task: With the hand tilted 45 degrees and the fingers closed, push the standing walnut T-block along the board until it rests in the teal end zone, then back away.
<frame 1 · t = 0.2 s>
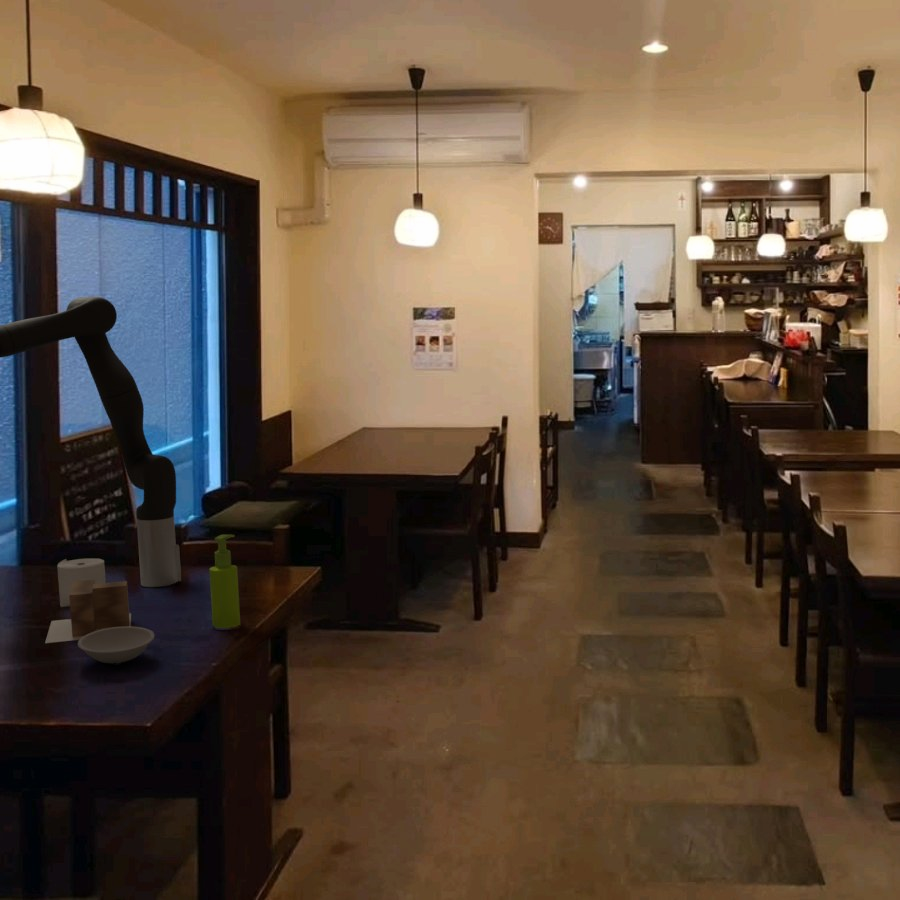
soap dispenser: (227, 626, 236), on the table
board: (121, 628, 236), on the table
toilet tissue: (81, 604, 259), on the table
dish: (118, 664, 212), on the table
t block: (85, 627, 234), point 1 cm above the table, touching board
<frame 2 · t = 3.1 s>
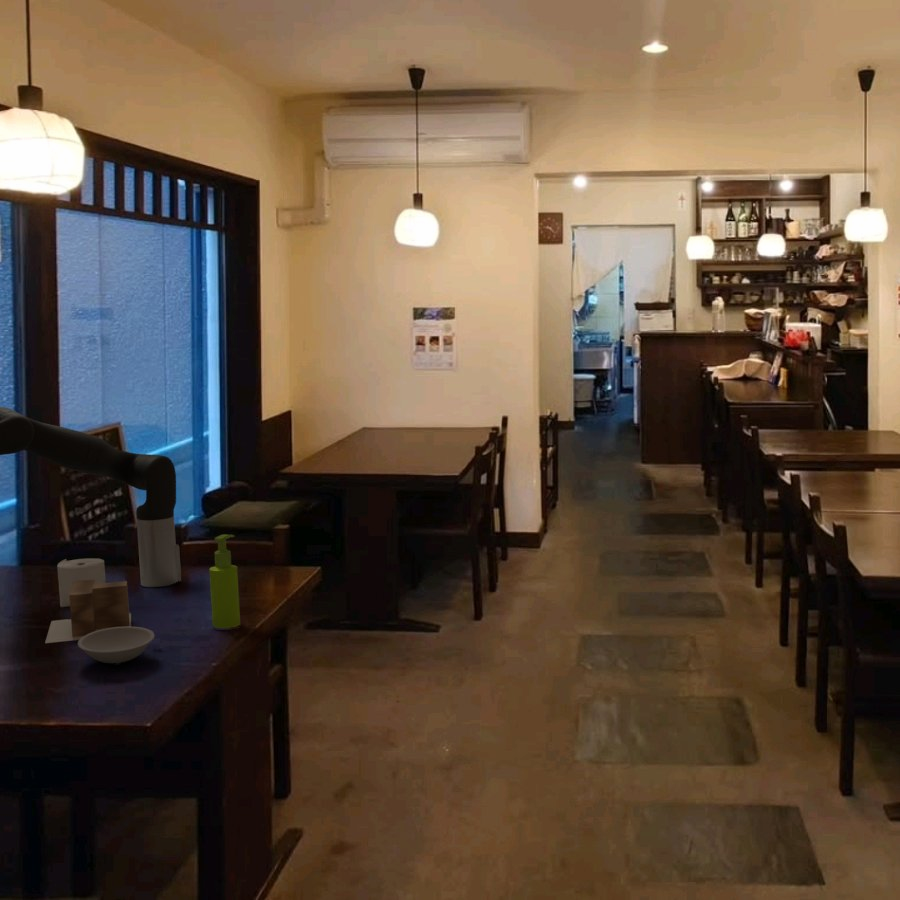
nothing on the table moved.
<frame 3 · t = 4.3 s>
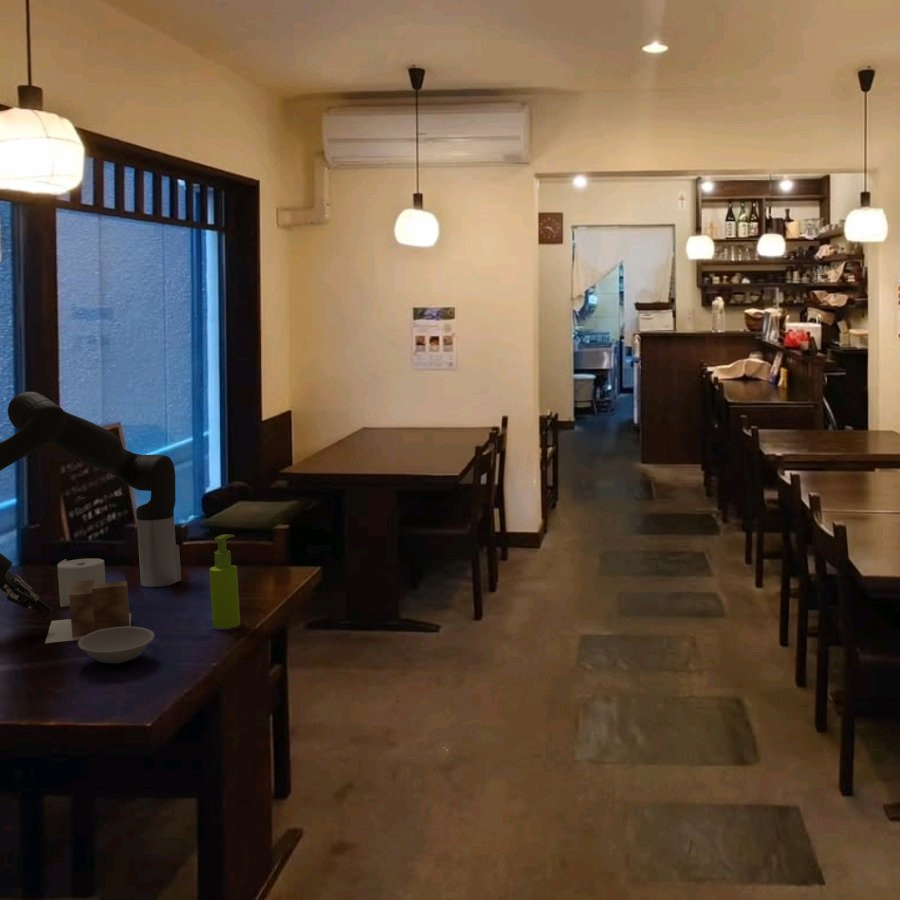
hand: (49, 613, 232), 5 cm above the table, tool tilted 45°, fingers closed
nothing on the table moved.
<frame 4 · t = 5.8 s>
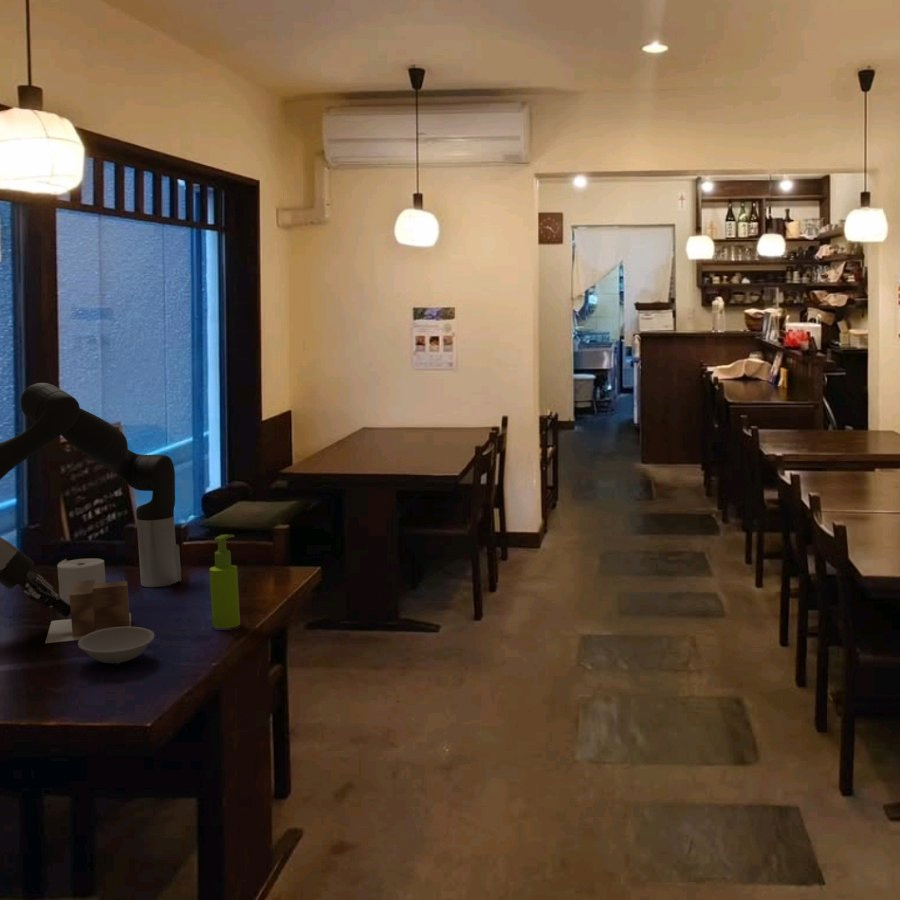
hand: (70, 613, 232), 5 cm above the table, tool tilted 45°, fingers closed
t block: (85, 627, 234), point 1 cm above the table, touching board, gripper
everything else where it was.
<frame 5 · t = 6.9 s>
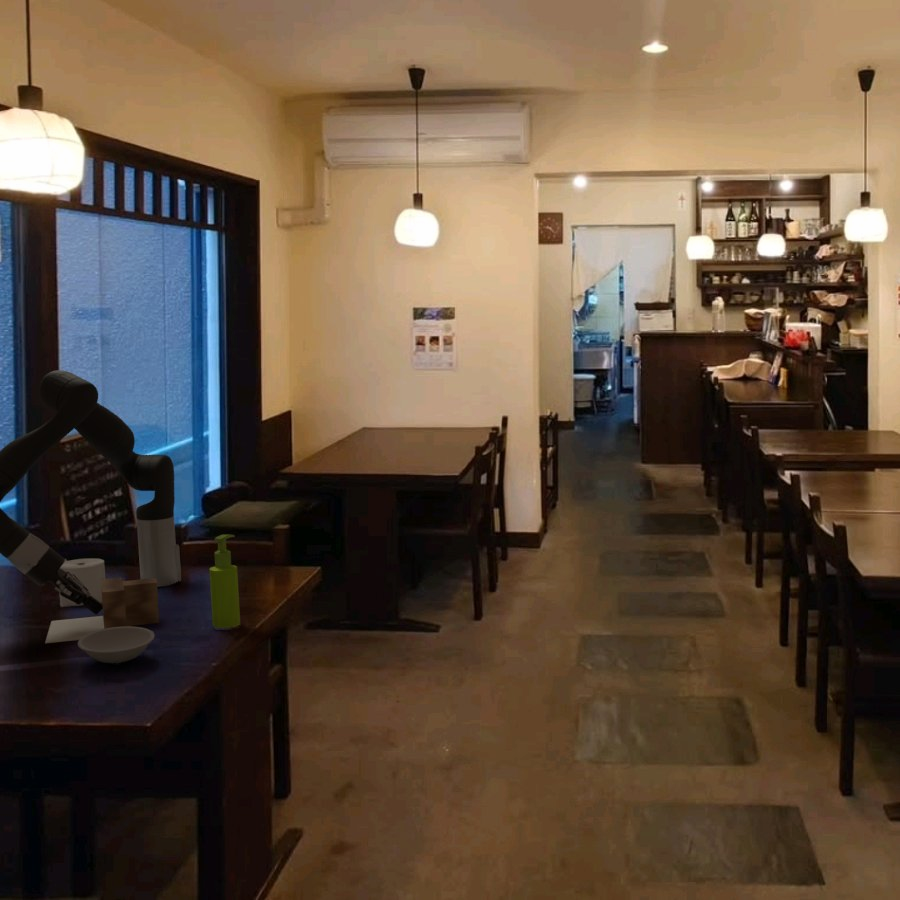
hand: (100, 610, 234), 5 cm above the table, tool tilted 45°, fingers closed
t block: (114, 624, 236), point 1 cm above the table, touching gripper
everything else where it was.
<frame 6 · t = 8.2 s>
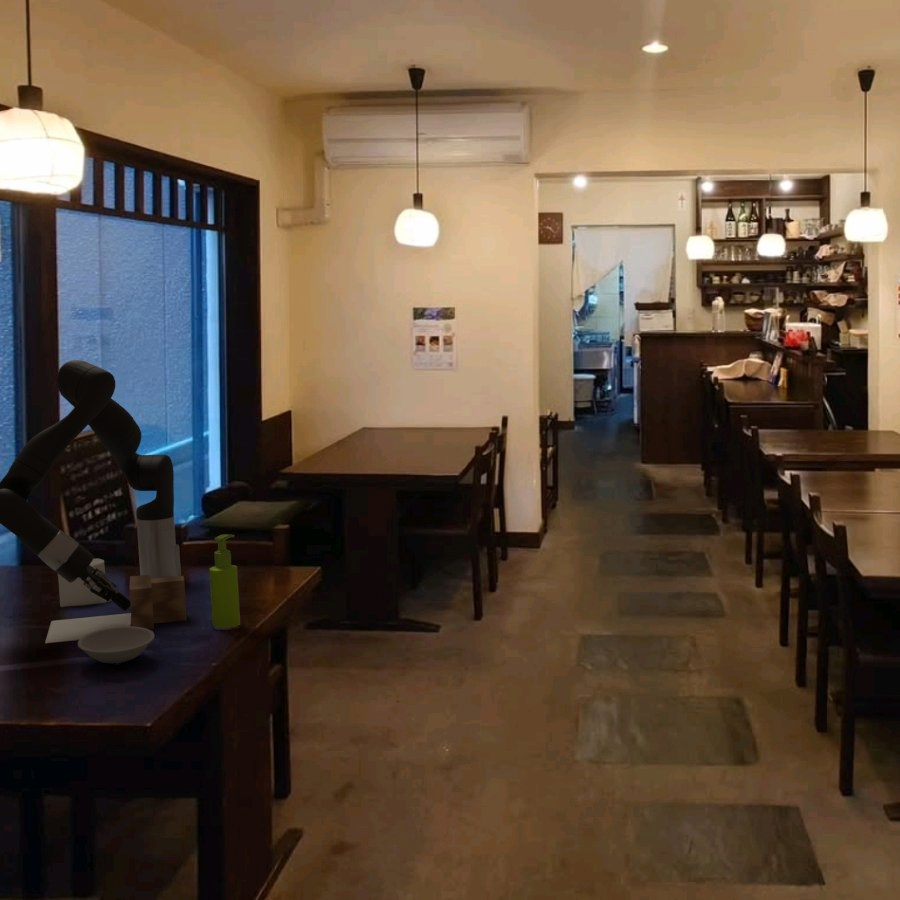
hand: (128, 606, 236), 5 cm above the table, tool tilted 45°, fingers closed
t block: (143, 621, 238), point 1 cm above the table, touching gripper
everything else where it was.
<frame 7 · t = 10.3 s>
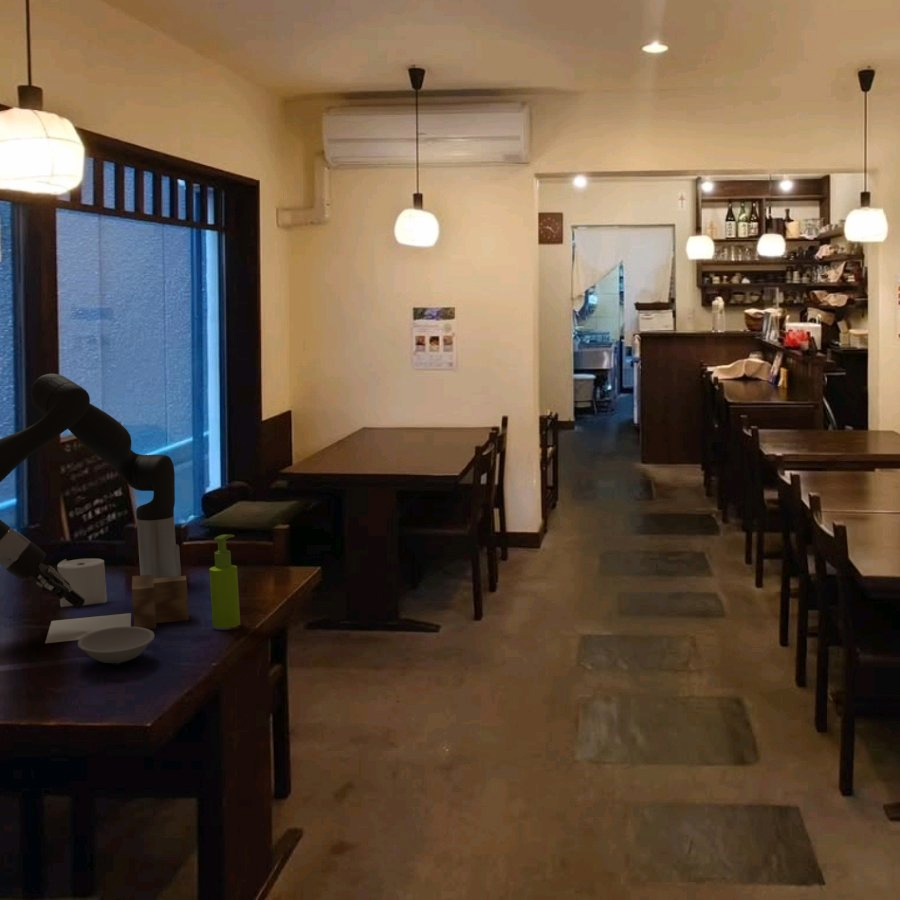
hand: (82, 604, 233), 6 cm above the table, tool tilted 45°, fingers closed
t block: (145, 621, 238), point 1 cm above the table, touching board
everything else where it was.
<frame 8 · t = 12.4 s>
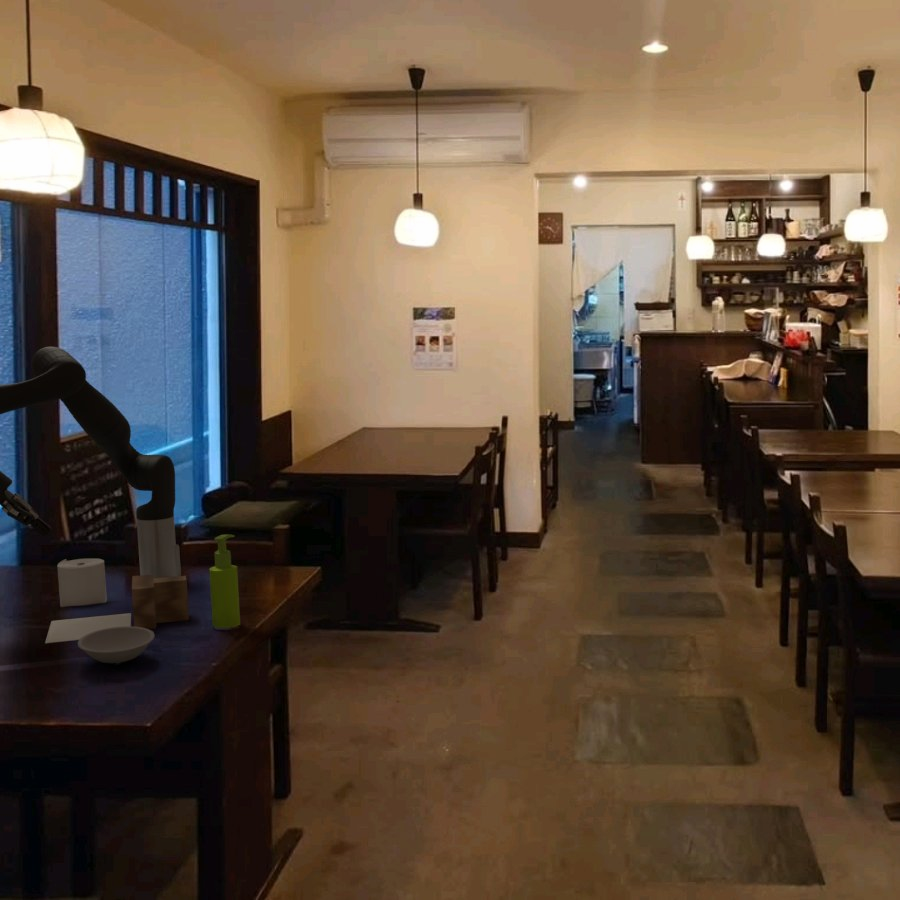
hand: (48, 532, 233), 22 cm above the table, tool tilted 45°, fingers closed
nothing on the table moved.
at the end: t block inside the target area (0.5 cm from its centre), point 0.9 cm above the table; t block tilted 0°; t block moved 12.6 cm from its start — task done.
